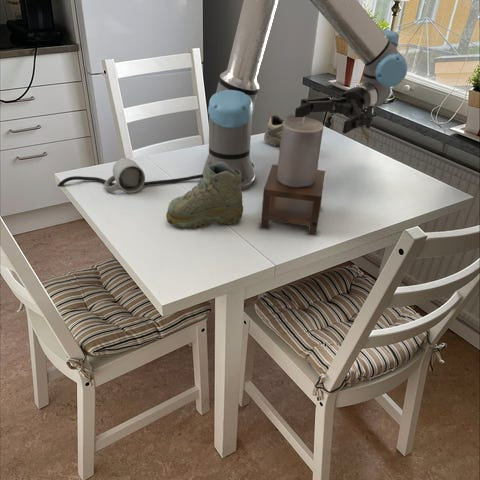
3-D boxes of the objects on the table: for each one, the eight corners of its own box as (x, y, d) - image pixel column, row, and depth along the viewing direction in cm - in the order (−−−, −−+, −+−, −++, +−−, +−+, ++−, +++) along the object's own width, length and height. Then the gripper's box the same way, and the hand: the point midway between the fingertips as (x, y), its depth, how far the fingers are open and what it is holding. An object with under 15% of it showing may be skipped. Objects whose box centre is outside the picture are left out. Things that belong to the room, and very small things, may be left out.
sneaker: (170, 206, 134) (168, 153, 124) (242, 211, 134) (246, 159, 124) (164, 230, 127) (161, 176, 116) (241, 236, 127) (245, 182, 116)
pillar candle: (285, 168, 131) (291, 108, 122) (321, 176, 128) (330, 116, 119) (270, 182, 124) (276, 120, 115) (307, 191, 121) (316, 128, 112)
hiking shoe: (308, 155, 160) (319, 116, 157) (254, 144, 170) (264, 108, 168) (320, 162, 167) (331, 125, 165) (268, 151, 178) (278, 116, 176)
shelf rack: (260, 227, 128) (263, 189, 121) (269, 201, 140) (272, 164, 133) (315, 235, 127) (322, 196, 120) (319, 207, 138) (325, 170, 131)
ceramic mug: (137, 178, 147) (134, 152, 142) (146, 190, 141) (144, 164, 136) (101, 185, 143) (97, 158, 138) (109, 197, 138) (105, 170, 133)
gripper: (397, 126, 135) (363, 149, 121) (316, 105, 145) (276, 124, 132) (404, 96, 130) (369, 117, 117) (319, 77, 141) (278, 93, 127)
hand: (320, 120), depth 124 cm, fingers open, 13 cm apart
